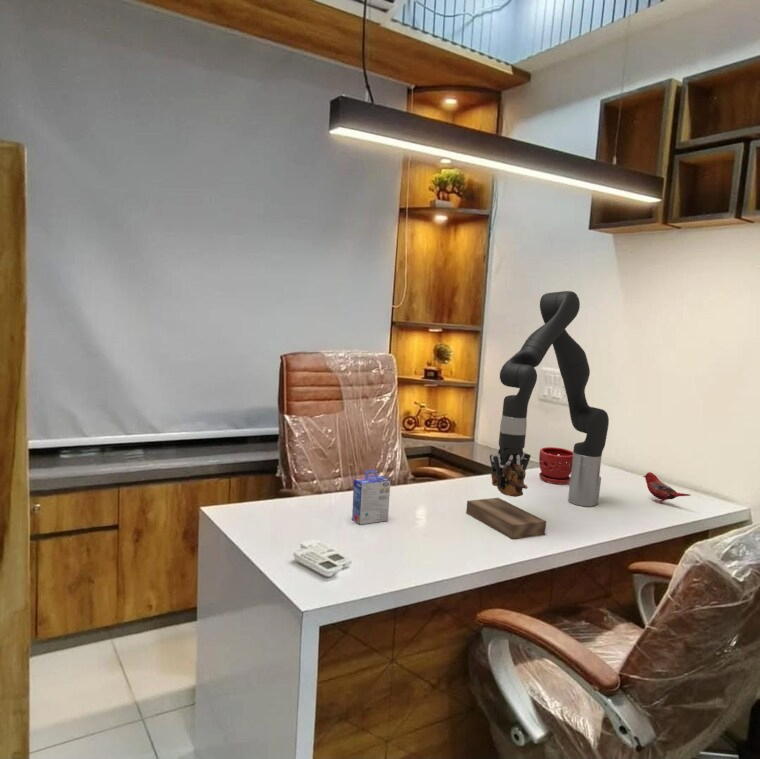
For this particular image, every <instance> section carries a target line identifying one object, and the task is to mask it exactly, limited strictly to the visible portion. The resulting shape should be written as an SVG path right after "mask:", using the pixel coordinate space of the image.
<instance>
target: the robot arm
mask: <svg viewBox="0 0 760 759" xmlns="http://www.w3.org/2000/svg"><path fill="white" fill-rule="evenodd" d="M580 304H581V302H580V298H579V296H578V295H577V293H576V292H574V291H573V290H563V291H555V292H546V293H544V294H542V296H541V298H540V300H539V309H540V315H541V318H542V320H543V323H544V324H543V325H541V326H540V327H538V328H537V329H535V330H534V332H532V333H531V334H530V335H529V336H528V337H527V339H525V342H524V343H523V345H522V346H521V348H520V349H519V351H517V352H516V353H515V354H514V355H512V357H510V358H509V359H508V360H507V361H506V362H505V363H504V364H503V365H502V367H501V369H500V370H499V380H500V382H501V384H502V385H503V386H505V387H507V388H508V387H510V388H516V389H518V391H517V393H516V394H511V395H506V396H505V397H504V399H503V403H502V414H501V419H500V425H499V426H500V427H499V433H498V434H499V437H498V445H499V446H498V448H499V449H498V451H497V453H495V454H490V455H489V460H490V461H489V462H490V465H491V472H493V473H494V474H497V475H498V483H497V485H498V487H499V488H500V489H504V488H505V479H506V477H505V475H506V470H508V469H509V466H510V465H512V464H513V463H514V464H519V465H520V466H521V467H522V468H523V470H525V472H526V471H527V467H528V465H529V463H530V459H531V454H529V453H526V452H524V449H525V447H526V446H525V444H526V435H527V421H528V420H527V416H528V409H529V408H528V405H529V402H530V398H531V397H532V393H533V391H534V389H535V387H536V383H537V380H538V372H537V370H536V368H537V367H539V365H540V364H541V362H543V359H544V358H545V356H546V355H547V352H548V351H549V349H550V348H551V346H552V348H553V350H554V354H555V357H556V361H557V362H556V363H557V366H558V369H559V372H560V376H561V379H562V381H563V385H564V386H563V387H564V391H565V394H566V399H567V402H568V403H567V405H568V409H569V416H570V417H569V418H570V421H571V425H572V427H573V429H574V430H576V431H578V432H580V433H583V434H586V435H585V439H584V441H582V442H581V441H580V442H577V443H574V445H573V451H572V452H573V459H572V469H571V474H570V481H569V486H568V488H569V489H568V497H567V500H568V502H569V503H571V504H572V505H577V506H579V507H580V506H581V507H595V506H596V505H598V504H599V501H600V491H601V483H602V477H601V476H600V475H601V474H600V473H601V466H602V464H601V463H602V456H603V452H604V449H605V446H606V443H607V436H608V430H609V421H610V419H609V414H608V412H607V411H606V410H605V409H603V408H599V407H594V406H590V405H589V403H588V402H587V398H586V393H585V392H586V391H585V390H586V387H587V384H588V382H589V379H590V373H591V369H590V366H589V362H588V358H587V354H586V352H585V349H583V348H582V345H580V344H579V343H578V341H576V340H575V339H574V338H573V337H572V336H571V335H570V334H569V333H568V332H567V330H566V329H567V328H568V326H570V324H571V323H572V322H573V321H574V319H575V318H576V317H577V315H578V314H579V311H580ZM503 464H504V465H505V466H504V465H503ZM502 470H503V471H502Z"/></svg>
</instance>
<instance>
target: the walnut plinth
mask: <svg viewBox="0 0 760 759" xmlns="http://www.w3.org/2000/svg"><path fill="white" fill-rule="evenodd" d="M465 514H467V515H469V516H470V517H472V518H474V519H475V520H477V521H479V522H481V523H482V524H484V525H486V526H488V527H489V528H491V529H493V530H495V531H497V532H498V533H500V534H502V535H504V536H505V537H507V538H509V539H510V540H517V539H523V538H530V537H531V538H532V537H537V536H544V535H545V534H546V527H547V521H546V520H545V519H543V518H541V517H538V516H536V515H535V514H532V513H531V512H528V511H527V510H524V509H522V508H520V507H518V506H516V505H514V504H512V503H510V502H508V501H506V500H504V499H501V498H500V497H494V498H493V497H492V498H482V499H471V500H467V501H466V512H465Z"/></svg>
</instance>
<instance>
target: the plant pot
mask: <svg viewBox="0 0 760 759" xmlns="http://www.w3.org/2000/svg"><path fill="white" fill-rule="evenodd" d="M538 455H539V458H538V459H539V460H538V462H539V469H540V473H538V474H539V478H540V479H541V480H542V481H544V482H547V483H551V484H557V485H563V484H568V483H570V478H571V469H572V459H573V451H572V450H569V449H566V448H561V447H551V446H550V447H549V446H548V447H546V446H545V447H541V448H540V450H539V454H538Z"/></svg>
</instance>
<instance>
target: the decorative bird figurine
mask: <svg viewBox="0 0 760 759" xmlns="http://www.w3.org/2000/svg"><path fill="white" fill-rule="evenodd" d="M642 477H643V478H644V479H645V482H646V486H647V489H648V491H649V492H650V494H651V495H652V496H653V497H654V498H656V499H651V500H652V501H654V502H655V503H657V504H658V503H659V504H661V505H663V504H664V505H666V503H665V501H667V500H674V499H675V498H678V497H689V496H691V494H689V493H682V492H677V491H676V490H675V489H673V488H672V487H671V486H669V485H668V484H666V483H664V482H662V481H661V480H659V478H658V476H656V475H655V474H654V473H653V472H647V473H646V474H645V475H644V476H642ZM658 499H659V500H658Z"/></svg>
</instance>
